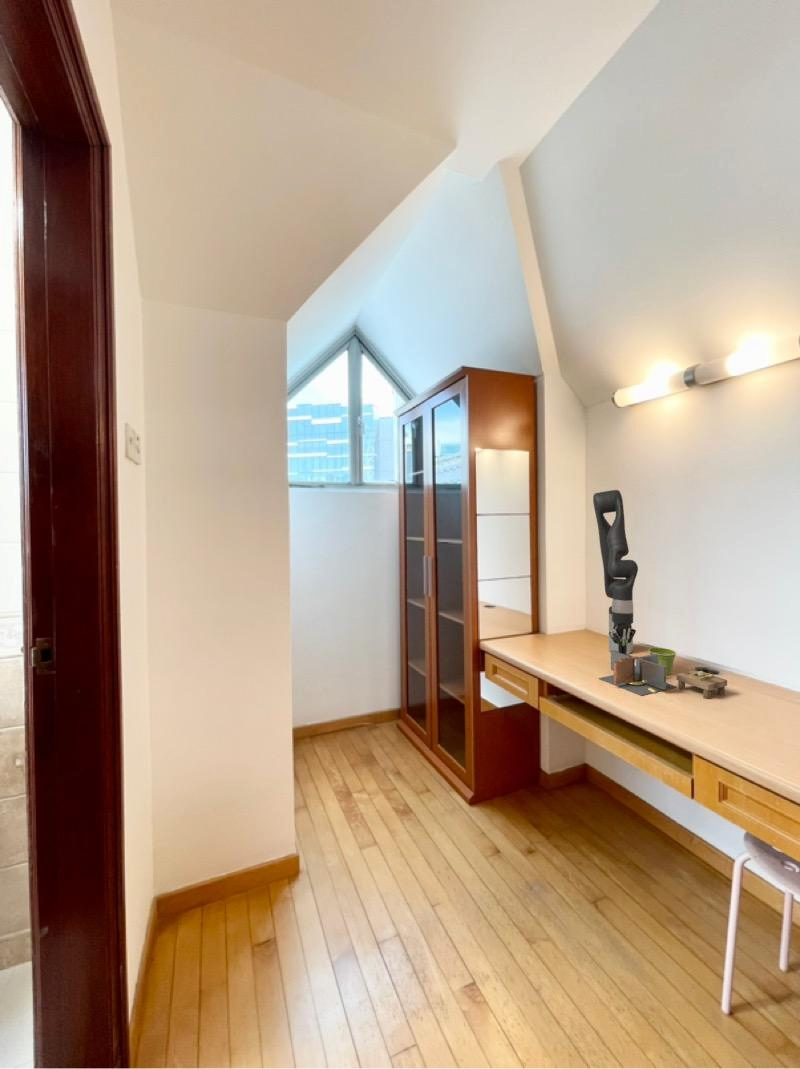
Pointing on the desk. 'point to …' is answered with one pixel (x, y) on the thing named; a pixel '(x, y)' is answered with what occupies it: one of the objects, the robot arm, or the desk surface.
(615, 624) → the robot arm
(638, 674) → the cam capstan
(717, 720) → the desk surface
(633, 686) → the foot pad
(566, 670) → the desk surface
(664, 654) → the plant pot
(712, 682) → the level stand
